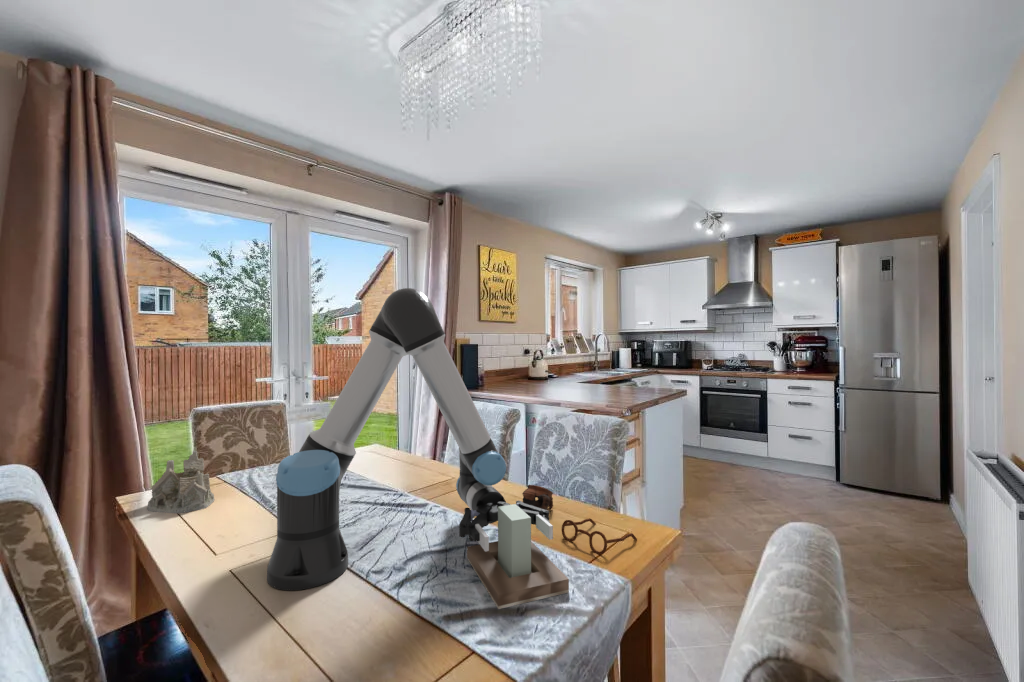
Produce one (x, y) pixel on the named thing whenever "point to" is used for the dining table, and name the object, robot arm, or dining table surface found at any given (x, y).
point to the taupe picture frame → (517, 577)
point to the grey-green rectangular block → (514, 540)
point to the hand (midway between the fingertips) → (520, 538)
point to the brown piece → (542, 495)
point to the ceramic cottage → (182, 488)
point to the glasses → (570, 523)
